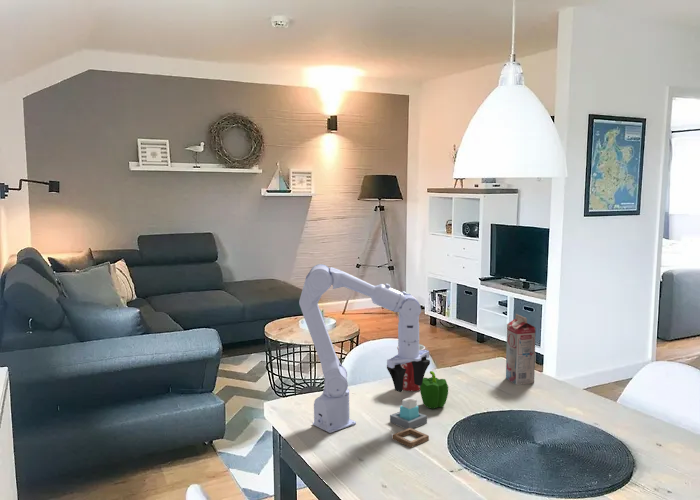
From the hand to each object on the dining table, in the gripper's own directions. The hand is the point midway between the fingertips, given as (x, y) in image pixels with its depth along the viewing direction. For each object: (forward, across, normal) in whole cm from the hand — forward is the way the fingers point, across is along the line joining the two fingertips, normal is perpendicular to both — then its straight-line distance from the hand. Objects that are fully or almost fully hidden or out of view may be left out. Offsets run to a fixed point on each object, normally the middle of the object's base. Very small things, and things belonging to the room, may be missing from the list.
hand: (408, 387), depth 162 cm
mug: (+10, +20, +18) cm, 28 cm away
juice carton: (+10, +52, 0) cm, 53 cm away
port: (+10, 0, 0) cm, 10 cm away
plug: (+10, 0, 0) cm, 10 cm away
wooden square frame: (+10, -8, -8) cm, 15 cm away
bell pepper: (+10, +14, +4) cm, 18 cm away
